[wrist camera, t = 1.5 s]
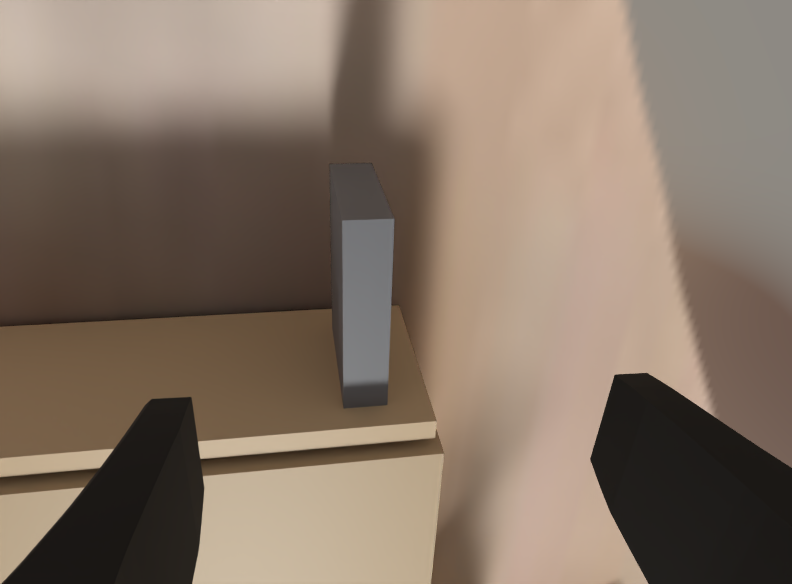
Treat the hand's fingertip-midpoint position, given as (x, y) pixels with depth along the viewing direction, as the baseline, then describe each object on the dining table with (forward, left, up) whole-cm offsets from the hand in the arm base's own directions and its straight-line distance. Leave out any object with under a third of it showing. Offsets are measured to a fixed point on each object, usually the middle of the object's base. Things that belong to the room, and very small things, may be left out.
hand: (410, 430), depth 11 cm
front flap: (-6, -1, -10) cm, 12 cm away
